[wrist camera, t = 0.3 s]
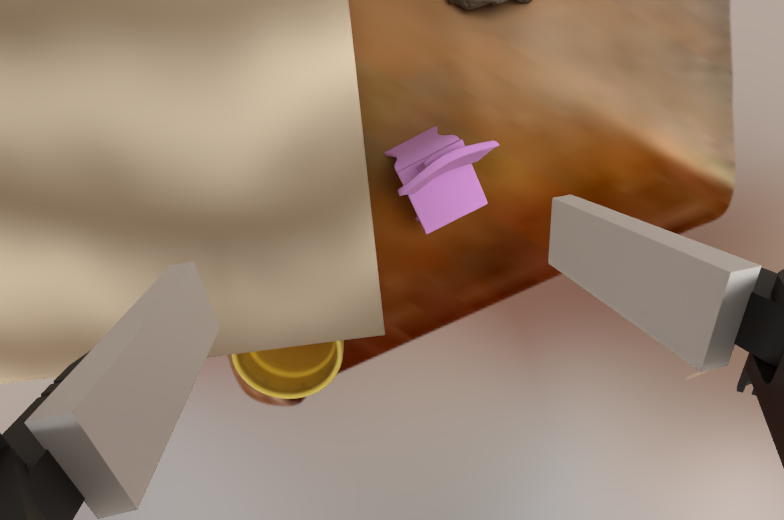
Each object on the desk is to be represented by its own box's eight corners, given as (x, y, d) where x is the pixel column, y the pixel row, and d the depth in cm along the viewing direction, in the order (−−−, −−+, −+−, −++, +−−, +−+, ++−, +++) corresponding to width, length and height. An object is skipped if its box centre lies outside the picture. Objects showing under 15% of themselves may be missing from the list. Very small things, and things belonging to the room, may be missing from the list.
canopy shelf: (118, -88, 31) (-691, -876, 7) (331, -100, 32) (259, -813, 8) (204, 241, 40) (-20, 386, 16) (368, 223, 41) (385, 334, 17)
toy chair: (409, 228, 42) (438, 272, 27) (375, 157, 39) (386, 165, 25) (475, 195, 41) (538, 223, 27) (445, 120, 38) (497, 107, 24)
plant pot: (273, 356, 45) (252, 411, 36) (244, 280, 42) (212, 320, 32) (355, 336, 45) (354, 386, 36) (332, 259, 42) (325, 292, 32)
